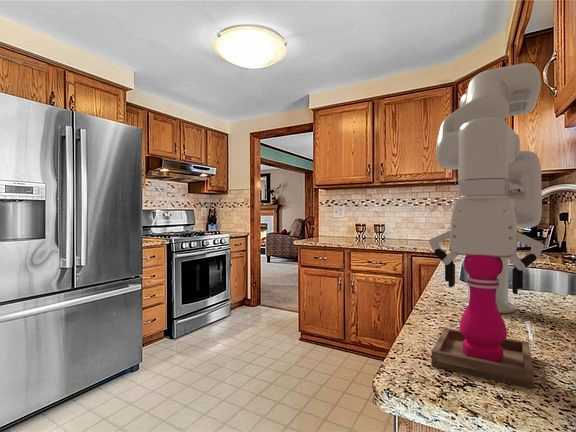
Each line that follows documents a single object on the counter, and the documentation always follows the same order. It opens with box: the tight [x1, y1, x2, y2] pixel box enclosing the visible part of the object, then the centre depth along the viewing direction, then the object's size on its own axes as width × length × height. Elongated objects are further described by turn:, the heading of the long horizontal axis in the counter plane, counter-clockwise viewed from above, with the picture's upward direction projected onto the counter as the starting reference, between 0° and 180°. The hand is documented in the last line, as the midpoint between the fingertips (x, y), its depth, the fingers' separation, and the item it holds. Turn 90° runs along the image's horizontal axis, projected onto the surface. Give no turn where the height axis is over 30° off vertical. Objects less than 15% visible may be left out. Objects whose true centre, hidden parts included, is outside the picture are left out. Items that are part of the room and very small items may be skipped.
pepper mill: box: [459, 255, 508, 362], centre depth 60 cm, size 7×7×20 cm
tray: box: [430, 327, 534, 390], centre depth 59 cm, size 14×14×2 cm
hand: (482, 289), depth 59 cm, fingers open, 9 cm apart
